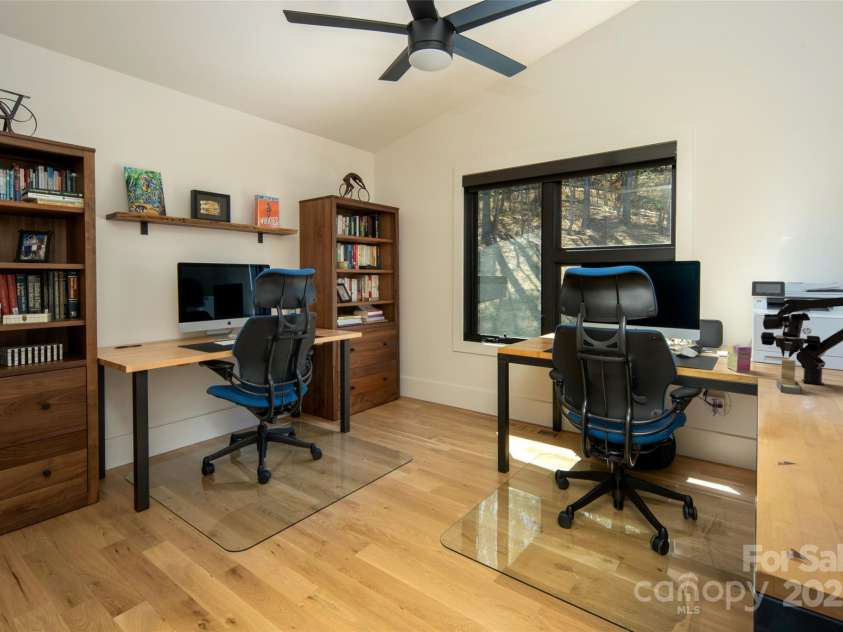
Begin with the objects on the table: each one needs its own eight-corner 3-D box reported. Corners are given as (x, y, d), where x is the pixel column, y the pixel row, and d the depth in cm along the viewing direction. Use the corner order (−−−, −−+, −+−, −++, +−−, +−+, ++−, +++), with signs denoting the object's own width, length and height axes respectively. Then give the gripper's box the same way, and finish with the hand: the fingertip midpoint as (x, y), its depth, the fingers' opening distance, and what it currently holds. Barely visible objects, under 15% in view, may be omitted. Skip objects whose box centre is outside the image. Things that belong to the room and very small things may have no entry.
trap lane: (776, 385, 184) (776, 378, 184) (795, 387, 181) (795, 380, 181) (780, 392, 174) (781, 385, 174) (801, 394, 171) (801, 386, 170)
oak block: (780, 382, 182) (781, 359, 181) (793, 383, 180) (794, 360, 179) (782, 384, 178) (783, 361, 178) (795, 385, 176) (796, 361, 176)
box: (750, 372, 210) (751, 347, 210) (736, 372, 212) (737, 346, 211) (739, 368, 221) (740, 344, 220) (726, 368, 222) (727, 343, 221)
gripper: (823, 341, 189) (817, 372, 182) (767, 337, 202) (759, 365, 196) (822, 324, 183) (816, 355, 176) (764, 320, 196) (756, 349, 189)
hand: (786, 356), depth 184 cm, fingers closed
